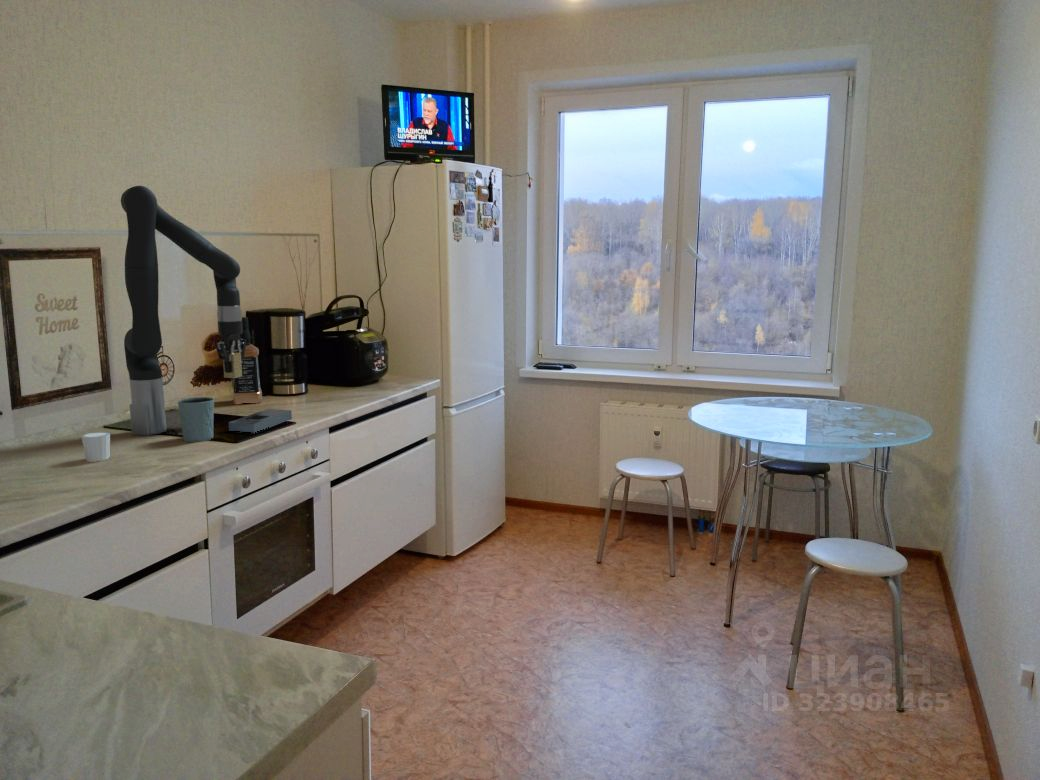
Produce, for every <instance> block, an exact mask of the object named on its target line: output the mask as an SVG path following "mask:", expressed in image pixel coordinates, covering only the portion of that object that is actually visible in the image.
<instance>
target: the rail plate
mask: <svg viewBox="0 0 1040 780" xmlns="http://www.w3.org/2000/svg"><path fill="white" fill-rule="evenodd" d="M292 414H293V413H292V410H291V409H278V408H277V409H276V408H275V409H274V408H267V409H263V410H260V411H258V412H255V413H252V414H249V415H246V416H243V417H241V418H237V419H235V420H231V421H228V431H240V432H239V433H242V432H251V433H250V434H256V433H258V432H257V431H259V432H261V431H260V430H262V431H264V430H266V428H267V429H269V428H272V427H274V426H277V425H279V424H282V423H284V422H285V423H286V422H287V420H288V421H291V420H292V419H293V415H292ZM268 427H269V428H268ZM263 429H264V430H263ZM255 432H256V433H255Z"/></svg>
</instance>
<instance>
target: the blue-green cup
mask: <svg viewBox="0 0 1040 780" xmlns="http://www.w3.org/2000/svg"><path fill="white" fill-rule="evenodd" d="M177 404H178V410H179V411H178V412H179V416H180V423H181V429H182V431H181V432H182V439H183V441H184V442H190V443H198V442H205V441H209V440H212V439H213V438H214V420H215V419H214V418H215V417H214V412H215V409H214V408H215V398H213V397H203V396H199V397H187V398H181V399H179V400H177ZM211 438H212V439H211Z"/></svg>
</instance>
